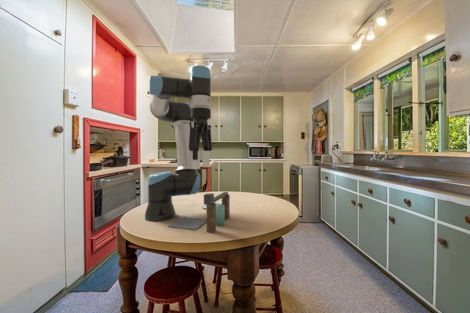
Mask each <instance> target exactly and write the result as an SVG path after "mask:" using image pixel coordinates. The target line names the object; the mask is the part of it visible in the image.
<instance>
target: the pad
mask: <svg viewBox="0 0 470 313" xmlns="http://www.w3.org/2000/svg"><path fill="white" fill-rule="evenodd" d="M205 224H207V218H201V217H190V216H183V217H181V218H179V219H178V220H176V221H174V222H172V223H170V224H169V225H168V226H167V227H168V228H173V229H180V230H181V229H183V230H191V231H197V230H198V229H199V228H201V227H202V226H203V225H205Z"/></svg>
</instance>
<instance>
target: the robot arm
mask: <svg viewBox="0 0 470 313" xmlns="http://www.w3.org/2000/svg"><path fill="white" fill-rule="evenodd" d="M189 76H190V78H181V77H171V76H164V75H163V76H162V75H150V76H149V77H148V93H149V95H151V96H152V101H151V102H150V105H149V110H150V113H151V114H152V115H153V116H154V117H155V118H156V119H158V120H160V121H163V122H165V123H166V122H168V123H169V122H171V123H172V126H173V127H174V128H175V138H176V139H175V140H176V142H175V144H176V162H177V168H176V169H175V170H174V173H172V171H162V172H156V173H152V174H150V175H149V176H148V177H147V186H148V188H147V191H148V192H147V193H148V194H147V195H148V196H147V199H148V200H147V201H148V204H147V207H146V211H145V213H144V220H145V221H149V222H164V221H167V220H171V219H173V218H175V217H176V210H175V207H174V204H173V200H172V199H173V197H175V196H176V197H177V196H191V195H192V196H193V195H196V194H197V193H199V190H200V187H201V186H200V185H201V174H200V173H199V172H197V170H200V169H201V156H202V168H210V151H211V152H212V150H213V144H212V125H210V124H209V122H208V120H210V119H211V118H212V114H211V113H212V112H211V106H212V104H211V102H212V99H211V87H212V86H211V82H212V81H211V79H212V77H211V70H210V68H209V67H208V66H205V65H193V66H192V67H191V68H190V74H189ZM172 97H173V98H181V99H182V98H183V99H185V98H187V99H188V100H190V102H186V101H183V102H181V101H171V98H172ZM201 143H202V148H203V150H202V155H201V150H200V145H201Z"/></svg>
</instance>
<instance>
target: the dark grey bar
mask: <svg viewBox="0 0 470 313" xmlns="http://www.w3.org/2000/svg"><path fill="white" fill-rule="evenodd" d="M226 195H229V192H228V191H222V192H221V193H220V194H218V195H216V196H215V193H212V192H211V193H210V192H207V193H205V194H203V205H206V206H207V205H211V204H213V203H216V202H217V201H219V200H222V198H223V197H225V196H226Z"/></svg>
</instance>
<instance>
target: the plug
mask: <svg viewBox="0 0 470 313" xmlns="http://www.w3.org/2000/svg"><path fill="white" fill-rule="evenodd" d="M225 221H226V220H225V208H224V205H223V204H222V203H216V227H223V226H225Z"/></svg>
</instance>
